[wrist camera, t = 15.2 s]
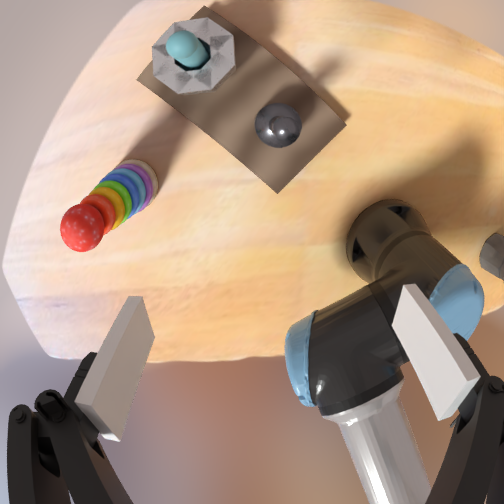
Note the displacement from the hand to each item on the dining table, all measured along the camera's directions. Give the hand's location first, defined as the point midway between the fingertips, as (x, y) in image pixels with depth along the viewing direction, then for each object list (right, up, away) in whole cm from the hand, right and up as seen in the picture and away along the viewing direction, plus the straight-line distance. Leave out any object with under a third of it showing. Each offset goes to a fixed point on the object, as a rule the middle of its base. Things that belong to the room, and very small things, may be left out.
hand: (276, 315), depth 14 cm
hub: (-8, +28, +17) cm, 33 cm away
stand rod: (+2, +20, +22) cm, 30 cm away
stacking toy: (-19, +14, +27) cm, 36 cm away
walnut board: (-3, +24, +21) cm, 33 cm away
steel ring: (-8, +26, +15) cm, 31 cm away
